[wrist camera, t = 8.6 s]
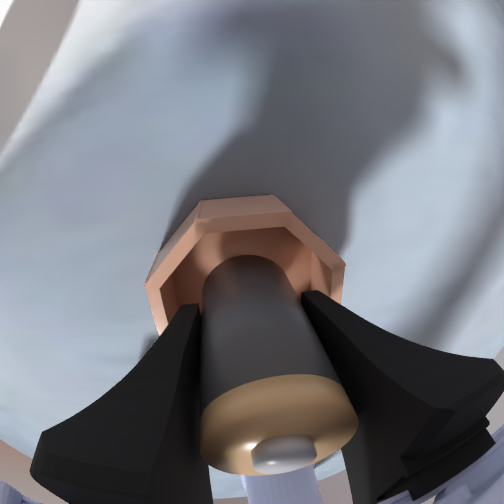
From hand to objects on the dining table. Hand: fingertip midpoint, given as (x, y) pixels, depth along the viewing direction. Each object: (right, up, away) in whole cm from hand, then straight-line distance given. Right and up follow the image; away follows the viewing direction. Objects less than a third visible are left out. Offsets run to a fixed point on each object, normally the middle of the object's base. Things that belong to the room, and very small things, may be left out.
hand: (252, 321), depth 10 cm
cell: (0, +1, +1) cm, 2 cm away
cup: (0, +1, +3) cm, 4 cm away
